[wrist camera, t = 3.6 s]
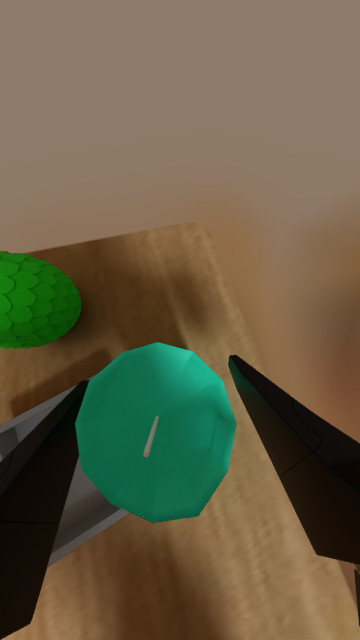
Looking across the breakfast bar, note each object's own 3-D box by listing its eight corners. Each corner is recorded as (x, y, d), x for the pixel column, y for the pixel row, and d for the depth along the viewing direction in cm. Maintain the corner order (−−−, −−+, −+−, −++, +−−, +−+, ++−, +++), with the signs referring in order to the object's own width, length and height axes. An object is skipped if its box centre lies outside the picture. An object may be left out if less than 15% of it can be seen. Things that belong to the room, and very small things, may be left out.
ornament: (105, 334, 16) (-6, 311, 6) (33, 359, 16) (-211, 377, 6) (89, 273, 18) (-21, 180, 8) (22, 294, 17) (-186, 220, 7)
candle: (208, 384, 15) (306, 502, 4) (159, 416, 15) (84, 686, 3) (180, 336, 16) (185, 305, 5) (133, 363, 16) (-2, 409, 4)
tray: (161, 473, 14) (159, 493, 12) (48, 545, 13) (24, 582, 11) (115, 366, 16) (106, 368, 14) (13, 420, 14) (-13, 432, 12)
